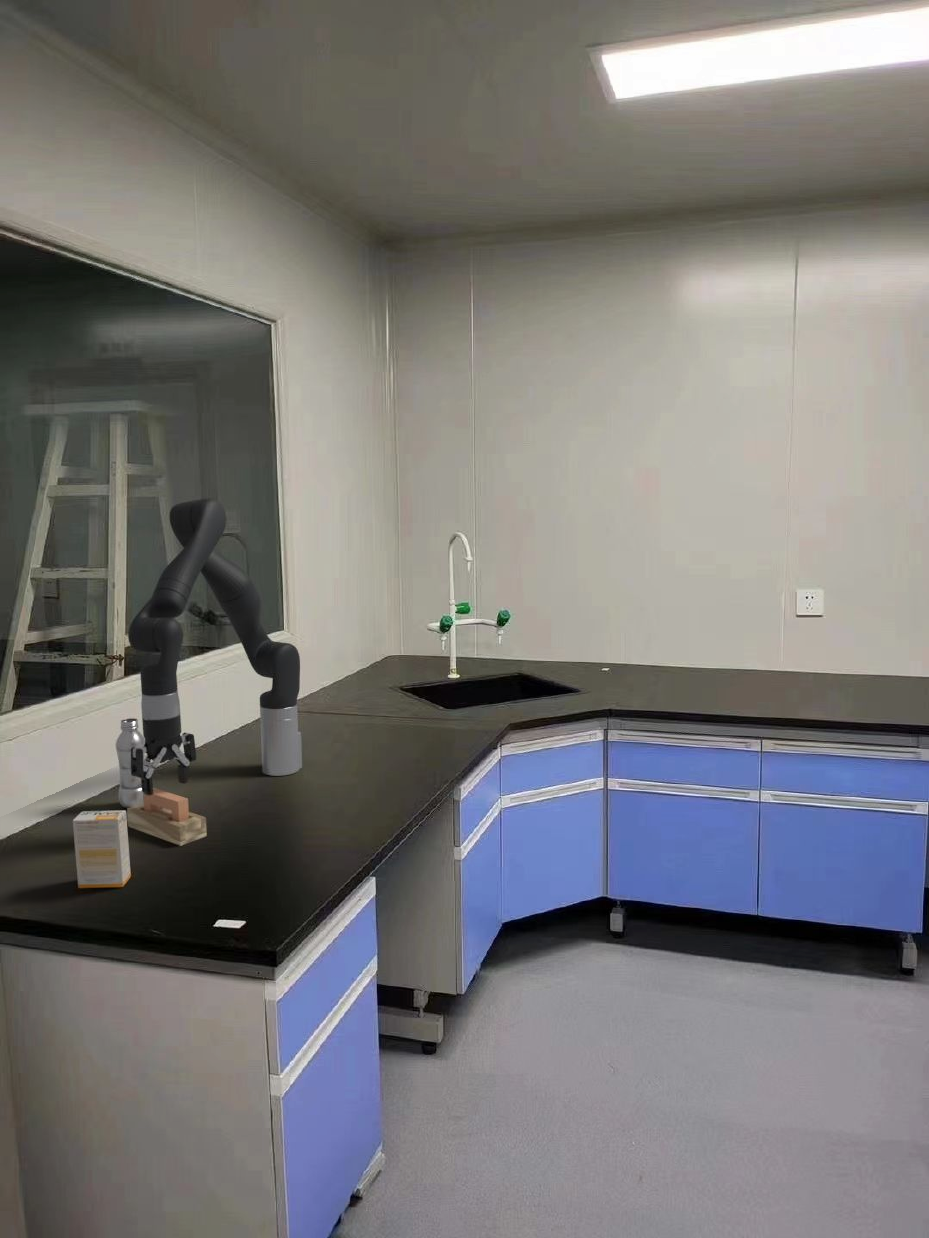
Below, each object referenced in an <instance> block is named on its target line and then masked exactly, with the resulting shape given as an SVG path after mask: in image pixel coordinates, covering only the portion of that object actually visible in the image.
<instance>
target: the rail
mask: <svg viewBox="0 0 929 1238" xmlns="http://www.w3.org/2000/svg"><path fill="white" fill-rule="evenodd" d="M126 810H127V811H126V815H127V828H128V827H129V828H131V829H134V830H136V831H140V832H142V833H144V834H147V835H150V836H153V837H155V838H159V839H162V840H164V841H166V842H170V843H172V844H175V845H178V846H180V847H182V846H183V845H187V844H189V843H192V842H194V841H197V840H200V839H203V838H205V837H207V818H206V816H202V815H200V814H196V813H194V812H191V811H189V819H187V820H184V821H181V822H175V821H172V811H171V810H168V809H165V808H162V807H160V809H159V810H156V811H153V812H150V813H149V812H146V811H144V803H143V804H140V805H136V806H133V807H130V808H126Z"/></svg>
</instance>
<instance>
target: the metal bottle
mask: <svg viewBox="0 0 929 1238" xmlns="http://www.w3.org/2000/svg"><path fill="white" fill-rule="evenodd" d="M120 730H121V732H120V734H119V735H118V737H117V739H116V740H115V749H116V754H117V760H118V766H119V775H120V776H119V788H118V801H119V804H120V805H121V806H122V807H123V808H126V809H127V808H130V807H133V806H136V805H140V804H143V792H142V785H141V778H138V777H136V776H132V775H131V748H132V747H136V748H139V747H144V744H145V738H144V736H143V734H142V733H141V732H140V731H139V722H138V718H134V717H133V718H132V717H131V718H130V717H129V718H124V719H122V720H120ZM145 754H146V753H145ZM145 754H144V755H145ZM145 756H146V755H145ZM144 759H145V757H143V761H144Z"/></svg>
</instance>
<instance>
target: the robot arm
mask: <svg viewBox="0 0 929 1238" xmlns="http://www.w3.org/2000/svg"><path fill="white" fill-rule="evenodd" d="M223 506H224V505H222V504H221V503H220V501H218V500H217V499H216V498H209V497H207V498H200V499H194V500H189V501H184V502H180V503H177V504H175V505H173V506H172V507H171V508H170V510H169V524H170V526H171V530H172V532H173V534H174V536H175V537H176V539H177V541H178V542H179V544H180V545H181V546H182V547H183V549H182V550H181V551H180V552H179V553H178V554H177V555H176V556H175V557H174V558H173V559H172V560H171V561H170V563H169V564H168V565H167V566H166V567H165V568H164V569H163V571H162V573H161V574H160V575H159V576H160V577H159V578H158V580H157V583H156V586H155V587H154V588H155V589H154V590H153V592H152V595H151V598H149V600H148V601H147V602H146V603H145V605H144V606H143V607H142V608H141V609H140V610H139V612H138V613H137V615H135V616H134V618H133V620H132V621H131V624H130V625H129V628H128V633H127V634H128V635H127V638H128V643H129V645H130V647H131V648H132V649H133V650H135V651H137V652H142V653H160V654H159V655H160V656H159V659H158V661H155V662H151V663H146V664H144V665H143V666H142V667H141V668H140V686H141V700H140V701H141V703H140V705H141V706H140V707H141V708H140V709H141V720H142V721H141V722H142V733H143V734H142V736H143V737H144V739H145V744H144V747H139V748H136V747H132V748H131V775H132V776H136V777H138V778H141V785H142V792H144V794H146V795H149V796H150V795H153V788H154V785H153V777H152V775H153V773H154V771H155V769H157V768H158V766H159V765H160V764H163V763H165V762H167V761H173V760H175V761H176V763H177V764H178V765H177V778H178V782H179V783H180V784H187V783H188V782H189V779H190V772H189V765H190V763H192V762H195V761H196V760H197V751H196V743H195V742H196V741H195V735H194V734H192V733H188V732H183V733H182V718H181V703H180V696H179V692H178V689H179V688H178V676H177V673H178V672H177V671H178V664H179V659H180V653H181V649H182V644H183V640H184V631H183V626H182V625H181V623H180V622H179V621H178V620H177V619H176V618H177V617H180V616H181V615H183V613H184V611H185V609H186V606H187V604H188V601H189V599H190V595H191V593H192V590H193V589H194V588H193V587H194V586H195V583H196V580H197V579H198V576H199V575H200V573H201V574H202V577H203V578H204V579H205V581H206V583H207V584H208V586H209V588H210V589H211V591H212V593H213V595H214V598H215V599H216V601H217V602H218V604H219V606H220V607H221V609H222V611H223V612H224V614H225V615H226V617H227V619H228V620H229V622H230V624H231V626H232V628H233V630H234V631H235V633H236V635H237V637H238V639H239V640H240V642H241V645H242V647H243V649H244V652H245V654H246V657H247V660H248V661H249V663H250V665H251V667H252V669H253V670H254V672H255V673H256V674H257V675H259V676H261V677H264V678H267V679H272V681H271V683H272V686H271V689H270V690H267V691H265V692H262V693H261V694H260V696H259V717H260V739H261V740H260V741H261V743H260V744H261V745H260V746H261V767H262V769H261V770H262V772H261V773H263V774H264V775H268V776H275V777H277V776H278V777H279V776H288V775H293V774H295V773H298V771H299V770H300V769H302V768H303V757H302V755H303V753H302V752H303V750H302V732H301V731H299V724H298V723H299V722H298V721H299V720H298V716H299V715H298V696H299V693H300V688H301V684H300V683H301V675H300V674H301V659H300V653H299V650H298V648H297V647H296V646H295V645H293V644H292V643H289V642H282V641H281V642H280V641H274V640H272V639H271V638H270V637H269V635H268V634H267V632H266V630H265V629H264V627H263V625H262V622H261V614H262V611H261V610H262V600H261V596H260V594H259V592H258V590H257V588H256V586H255V584H254V582H253V580H252V579H251V577H250V575H249V574H248V573H247V571H245V570H244V569H242V568H241V567H240V566H239V565H237V564H236V563H234V562H233V561H232V560H230V559H229V558H227V557H226V556H225V555H223V554H222V553H220V552H219V550H217V548H216V546H217V545H218V543H219V541H220V539H221V538H222V536H223V534H224V532H225V529H226V526H227V515H226V511H225V508H224V507H223ZM181 733H182V735H181ZM182 745H183V746H182ZM181 746H182V747H183V752H182V750H181V749H180V748H181ZM144 754H146V755H144ZM143 757H144V761H143ZM151 761H152V762H151Z"/></svg>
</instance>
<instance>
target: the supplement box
mask: <svg viewBox="0 0 929 1238" xmlns="http://www.w3.org/2000/svg"><path fill="white" fill-rule="evenodd" d="M126 810H127V809H126ZM126 810H90V811H87V810H86V811H85V810H84V811H81V812H80V813H79V814H78V815H77V816H75V818H73V820H72V828H73V841H74V851H75V865H76V875H77V876H76V877H77V886H78V889H94V888H97V889H98V888H100V889H101V888H123V887H124V886H125V885H126V884H127V882H129V880H130V878H131V876H132V873H131V861H130V848H129V847H130V846H129V835H128V818H127V811H126Z"/></svg>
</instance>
